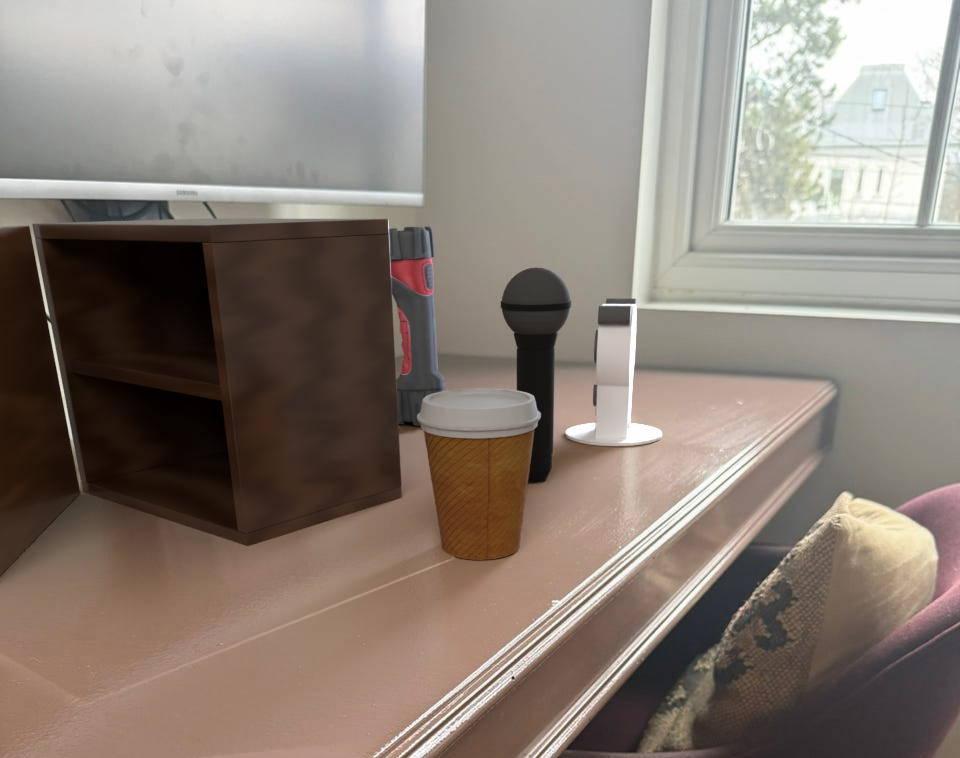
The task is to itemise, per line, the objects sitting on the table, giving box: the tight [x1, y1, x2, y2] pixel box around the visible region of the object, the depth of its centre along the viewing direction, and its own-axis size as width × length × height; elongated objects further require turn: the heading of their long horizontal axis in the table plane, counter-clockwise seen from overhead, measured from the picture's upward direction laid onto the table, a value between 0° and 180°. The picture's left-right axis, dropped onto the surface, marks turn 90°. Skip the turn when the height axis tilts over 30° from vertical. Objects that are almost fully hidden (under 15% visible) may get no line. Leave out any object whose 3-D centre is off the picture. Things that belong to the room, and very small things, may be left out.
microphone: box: [500, 267, 572, 484], centre depth 93 cm, size 7×7×20 cm
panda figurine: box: [565, 297, 663, 447], centre depth 112 cm, size 12×11×15 cm
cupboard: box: [31, 218, 403, 547], centre depth 89 cm, size 18×26×24 cm
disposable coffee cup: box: [417, 387, 541, 561], centre depth 76 cm, size 10×10×12 cm
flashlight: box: [389, 226, 446, 427], centre depth 119 cm, size 8×8×23 cm
